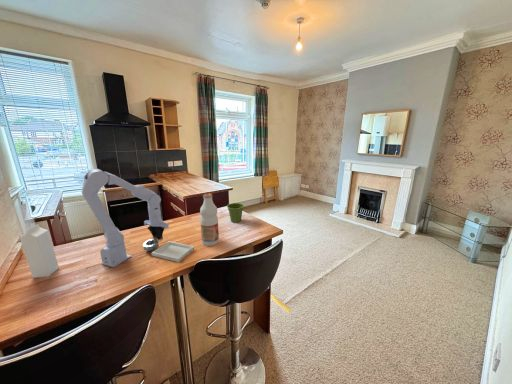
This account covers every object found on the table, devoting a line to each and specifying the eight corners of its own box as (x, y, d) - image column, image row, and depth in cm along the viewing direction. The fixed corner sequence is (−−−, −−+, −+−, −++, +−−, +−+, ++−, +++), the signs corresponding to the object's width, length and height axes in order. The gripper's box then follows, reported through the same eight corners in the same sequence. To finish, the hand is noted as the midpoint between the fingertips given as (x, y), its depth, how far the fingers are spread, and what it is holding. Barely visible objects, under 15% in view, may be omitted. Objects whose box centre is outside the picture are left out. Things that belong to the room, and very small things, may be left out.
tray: (178, 262, 99) (178, 258, 99) (152, 255, 104) (151, 252, 104) (194, 249, 110) (193, 246, 110) (169, 244, 115) (168, 241, 115)
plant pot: (237, 216, 155) (237, 201, 152) (247, 221, 146) (247, 206, 143) (224, 220, 148) (223, 205, 144) (233, 225, 139) (233, 209, 136)
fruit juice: (199, 240, 119) (196, 193, 112) (215, 236, 124) (212, 191, 117) (205, 248, 112) (202, 198, 104) (221, 243, 117) (219, 195, 109)
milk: (59, 268, 94) (47, 223, 88) (48, 276, 89) (34, 229, 83) (43, 269, 93) (30, 224, 88) (32, 278, 88) (16, 230, 82)
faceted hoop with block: (151, 251, 105) (150, 246, 104) (141, 249, 107) (139, 243, 106) (166, 239, 114) (165, 234, 113) (156, 237, 116) (155, 232, 115)
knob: (151, 252, 108) (150, 244, 106) (147, 250, 108) (145, 243, 107) (156, 249, 110) (155, 241, 109) (151, 248, 111) (150, 240, 110)
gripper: (171, 214, 111) (174, 237, 114) (150, 210, 115) (153, 232, 119) (161, 219, 104) (164, 243, 108) (139, 215, 109) (142, 238, 112)
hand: (157, 238), depth 113 cm, fingers closed on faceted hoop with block, 2 cm apart
